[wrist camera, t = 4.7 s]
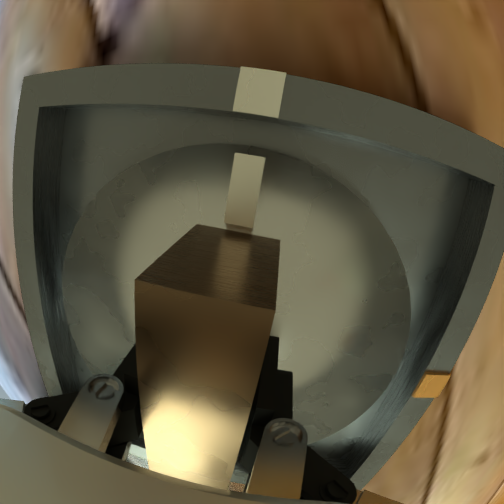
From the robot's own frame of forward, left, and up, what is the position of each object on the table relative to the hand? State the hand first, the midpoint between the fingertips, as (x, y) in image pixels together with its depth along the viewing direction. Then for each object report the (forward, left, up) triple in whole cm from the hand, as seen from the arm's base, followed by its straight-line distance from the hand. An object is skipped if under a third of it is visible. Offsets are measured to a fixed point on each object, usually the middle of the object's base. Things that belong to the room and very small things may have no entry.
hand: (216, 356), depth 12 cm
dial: (0, 0, -2) cm, 2 cm away
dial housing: (0, 0, -4) cm, 4 cm away
